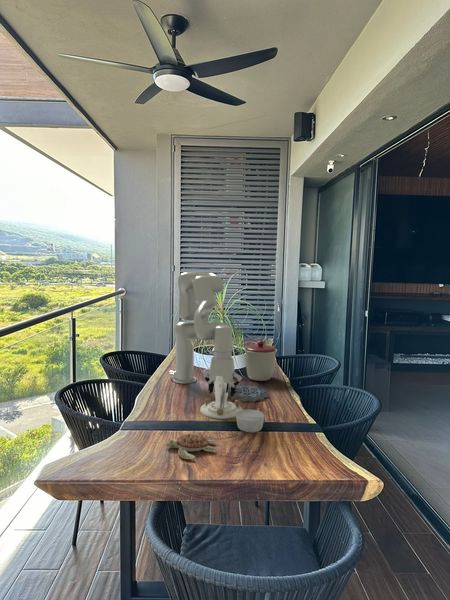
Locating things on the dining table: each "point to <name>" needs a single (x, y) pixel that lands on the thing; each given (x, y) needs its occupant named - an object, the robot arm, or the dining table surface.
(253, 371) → the canister
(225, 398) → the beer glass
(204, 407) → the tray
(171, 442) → the decorative turtle
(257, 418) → the ramekin
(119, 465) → the dining table surface
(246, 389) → the decorative tile
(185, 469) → the dining table surface
